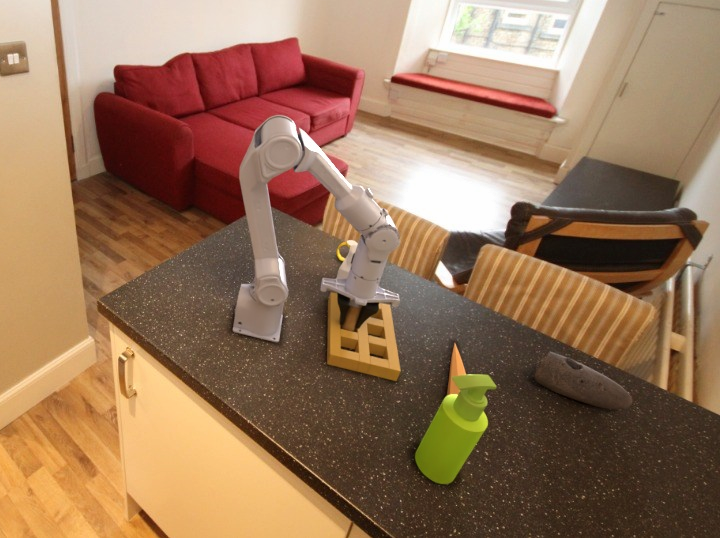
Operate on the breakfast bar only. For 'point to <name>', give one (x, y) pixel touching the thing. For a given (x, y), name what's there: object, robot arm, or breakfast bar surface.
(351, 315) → the peg
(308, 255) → the breakfast bar surface
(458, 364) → the carrot
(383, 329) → the peg block
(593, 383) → the perforated stone tool
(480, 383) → the soap dispenser
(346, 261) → the medicine bottle
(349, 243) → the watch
